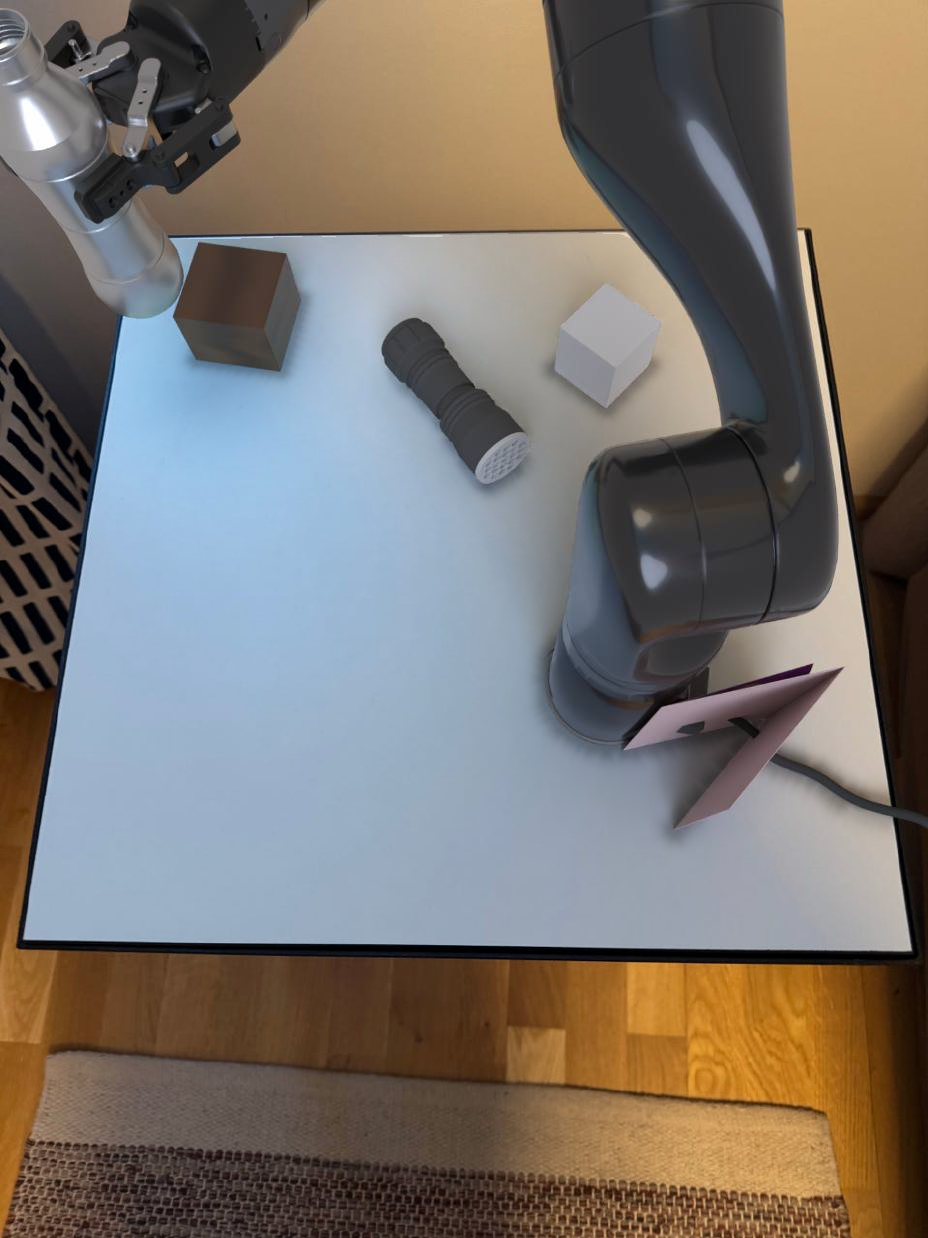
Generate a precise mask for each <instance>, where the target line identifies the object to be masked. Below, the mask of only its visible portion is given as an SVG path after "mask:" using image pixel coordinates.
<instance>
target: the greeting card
mask: <svg viewBox="0 0 928 1238" xmlns="http://www.w3.org/2000/svg"><path fill="white" fill-rule="evenodd" d="M813 666H814V662H812V663H809V664H806V665H801V666H799V667H795V668H792V669H788V670H785V671H781V672H778V673H775V674H771V675H768V676H764V677H761V678H757V679H754V680H751V681H746V682H744V683H740V684H737V685H733V686H730V687H726V688H723V689H719V690H716V691H713V692H709V693H707V694H705V695H702V696H698V697H695V698H692V699H688V700H685V701H681V702H678V703H674V704H673V705H668V706H664V707H661V708H660V709H659V710H658V711H657V713H656V714H655V715H654V716H653V717H652V718H651V719H650V720H649V721H648V723H647V724H646V725H645V726H644V727H643V728H642V729H641V730H640V732H639V733H638V734H637V735H636V736H635V737H634V738H633V739H632V740H631V741H630V742H628V743H627V745H626V746H625V747H624V748H623V749H622V751H627V750H632V749H637V748H640V747H641V748H642V747H646V746H649V745H654V744H658V743H663V742H667V741H671V740H676V739H681V738H685V737H689V736H691V735H689V734H683V733H677V732H676V731H677V730H678V729H680V728H681V727H682V726H684V725H688V724H693V723H697V722H702V721H705V725H704V729H703V730H702V731H701V732H700V733H698V734H702V733H708V732H711V731H716V730H720V729H725V728H729V727H730V728H731V727H733V726H736V725H735V724H733V723H731V722H729V721H727V720H728V719H731V718H736V717H742V718H744V719H745V720H747V721H748V722H750V723H752V722H756V721H761V720H763V721H762V722H761V724H760V725H759V726H758V727H757V729H758V730H759V731H760V733H759V734H758V735H757V737H756V738H754V739H753V738H752V737H751V736H750V737H749V738H748V739H747V741H746V742H745V743H744V744H743V745H742V747H740V748H739V750H738V752H737V753H736V754H735V755H734V756H733V758H732V759H731V760H730V761H729V762H728V764H727V765H726V766H725V767H724V769H723V770H722V771H721V772H720V773H719V774H718V775H717V777H716V778H715V779H714V781H713V782H712V783H711V784H710V785H709V786H708V788H707V789H706V790H705V792H704V793H702V795H700V798H699V799H698V800H697V801H696V802H695V804H693V806H692V807H691V809H689V811H688V812H687V813H686V814H685V815H684V817H683V818H682V819H681V820H680V822H679V823H678V824H677V825H676V826H675V828H674V829H673V830H674V831H676V830H679V829H681V828H685V827H687V826H690V825H692V824H695V823H697V822H700V821H703V820H705V819H709V818H710V817H713V816H716V815H719V814H721V813H723V812H726V811H729V810H731V808H732V807H733V806H734V805H735V804H736V802H737V801H738V800H739V798H741V796H742V795H743V794H744V793H745V791H746V790H747V789H748V788H749V786H750V785H751V784H752V782H753V781H754V780H755V779H756V778H757V776H758V775H759V774H760V773H761V772H762V770H763V769H764V768H765V766H767V764H768V763H769V762H770V759H771V758H772V757H773V755H774V754H775V753H777V752H778V751H779V750H780V748H781V747H782V746H783V745H784V743H785V742H786V741H787V739H789V737H790V736H791V735H792V733H793V732H794V731H795V729H797V727H798V726H799V725H800V724H801V722H802V721H803V720H804V719H805V717H806V716H807V715H808V714H809V712H810V711H811V709H813V707H814V706H815V705H816V704H817V702H818V701H819V700H820V699H821V698H822V697H823V695H824V694H825V693H826V691H827V690H828V689H829V688H830V687H831V686H832V684H833V683H834V682H835V680H836V679H837V678H838V677H839V676H840V674H841V673H842V672H843V670H844V669H845V668H846V665H844V666H839V667H834V668H829V669H826V670H820V671H817V672H812V670H813ZM811 672H812V673H811ZM698 734H697V735H698Z"/></svg>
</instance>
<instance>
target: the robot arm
mask: <svg viewBox="0 0 928 1238" xmlns="http://www.w3.org/2000/svg"><path fill="white" fill-rule="evenodd" d="M326 1H327V0H130V1H129V5H128V12H127V20H126V23H125V26H124V27H123V28H122V29H121V30H119V31H118V32H116V33H114V34H112V35H108V36H107V37H106V36H105V37H104V38H103V39H101V41H100V40H98V39H95V38H93V37H90V36H87V35H86V34H85V31H84V30H83V28H82V25H81V23H80V22H79V21H77V20H76V19H75V20H74V19H70V20H67V21H65V22H64V23H63V24H62V25H60V27H59V28H58V29H57V31H56V32H55V33H54V34H53V35H52V36H51V37H50V38H49V40H48V41H46V43H45V44H44V45H43V46H44V48H45V50H46V52H47V55H48V61H49V62H51V63H53V64H56V65H57V66H59V67H61V68H63V69H65V70H66V71H68V72H69V73H71V74H73V75H74V76H76V77H77V78H78V79H79V80H81V81H82V82H83V83H84V84H85V85H86V86H87V85H89V84H91V92H92V93H93V94H94V95H95V97H96V98H97V100H98V102H99V104H100V106H101V108H102V111H103V113H104V115H105V118H106V121H107V124H108V126H110V125H112V124H114V125H116V126H121V127H124V128H127V131H126V133H125V136H124V139H123V142H122V145H121V148H120V152H121V155H119V154H118V155H117V154H116V153H114V152H113V153H112V154H111V155H110V156H109V157H108V158H107V159H106V160H105V161H104V162H103V163H102V164H101V165H100V166H99V167H98V168H97V169H96V170H95V171H94V172H93V173H92V174H91V175H90V176H89V177H88V178H87V179H86V180H85V181H84V182H83V183H81V184H80V185H79V186H78V187H77V188H76V190H75V192H74V200H75V202H76V203H77V205H78V206H79V208H80V210H81V211H82V213H83V214H84V216H85V217H86V218H87V219H89V220H90V221H92V222H94V223H95V224H100V223H102V222H103V221H104V220H105V219H108V218H110V217H112V216H114V215H115V214H116V213H117V212H118V211H119V210H120V208H122V207H123V206H124V205H125V203H127V202H128V201H129V200H130V199H131V198H132V197H133V196H134V195H135V194H138V192H139V191H140V190H141V189H143V190H148V189H151V188H153V187H154V186H159V187H164V189H165V192H166V193H168V194H169V195H173V196H174V195H178V194H181V193H182V192H184V191H185V190H186V189H187V188H188V187H190V186H191V185H192V184H193V183H194V182H196V181H197V180H198V179H200V177H201V176H203V175H204V174H205V173H207V171H209V170H210V169H212V168H213V167H214V166H215V165H216V164H217V163H219V162H220V161H221V160H222V159H224V157H226V156H227V155H228V154H229V153H231V152H232V151H233V150H235V149H236V148H237V147H238V146H239V145H240V144H241V142H242V138H241V135H240V133H239V130H238V125H237V122H236V119H235V117H234V114H233V112H232V109H231V106H230V104H232V102H234V101H235V99H236V98H237V97H238V96H239V95H240V94H241V93H242V92H243V91H244V90H245V89H246V88H247V87H248V86H249V85H250V84H251V83H252V82H253V81H254V80H255V79H256V78H257V77H259V75H260V74H261V73H262V72H263V71H264V70H265V69H266V68H267V67H268V66H269V65H270V64H271V63H272V62H273V61H274V60H275V59H276V58H277V57H278V56H279V55H280V54H281V53H282V52H283V50H285V48H287V46H288V44H289V43H290V42H291V41H292V39H293V37H294V36H295V35H296V33H297V32H298V31H299V29H300V28H301V26H302V25H303V24H304V23H306V22H307V20H308V19H310V17H311V16H312V15H313V14H315V12H316V11H317V10H318V9H319V8H320V7H322V5H323V4H324V3H326ZM541 4H542V10H543V21H544V27H545V29H544V30H545V36H546V43H547V50H548V52H547V53H548V58H549V67H550V74H551V81H552V89H553V97H554V103H555V111H556V117H557V123H558V125H559V129H560V133H561V136H562V139H563V141H564V144H565V145H566V147H567V150H568V152H569V154H570V156H571V158H572V159H573V161H574V163H575V165H576V166H577V168H578V170H579V171H580V174H581V175H582V176H583V177H584V179H585V180H586V182H587V184H588V185H589V186H590V188H591V189H592V190H593V192H594V193H595V194H596V196H597V197H598V199H599V200H600V201H601V203H602V204H603V206H605V208H606V209H607V210H608V211H609V213H610V214H611V215H612V217H613V218H614V219H615V220H616V221H617V222H618V224H619V225H620V227H622V229H623V230H624V231H625V232H626V234H627V235H628V236H629V237H630V238H631V239H632V241H633V242H634V243H635V244H636V245H637V247H638V248H639V250H641V251H642V253H643V254H644V255H645V256H646V258H647V259H648V260H649V261H650V262H651V264H652V265H653V266H654V267H655V269H656V270H657V271H658V273H659V274H660V275H661V276H662V278H663V280H665V282H666V283H667V285H668V286H669V287H670V288H671V290H672V291H673V293H674V295H675V296H676V298H677V300H678V301H679V303H680V304H681V306H682V307H683V309H684V311H685V312H686V314H687V316H688V318H689V320H690V321H691V324H692V325H693V327H694V330H695V332H696V334H697V337H698V338H699V341H700V344H701V346H702V349H703V352H704V355H705V357H706V360H707V364H708V368H709V371H710V373H711V377H712V382H713V385H714V389H715V395H716V398H717V399H716V400H717V403H718V410H719V416H720V417H719V418H720V425H721V426H719V427H713V428H706V429H701V430H695V431H690V432H683V433H678V434H673V435H667V436H661V437H656V438H647V439H643V440H636V441H631V442H625V443H619V444H615V445H612V446H611V445H610V447H606V448H604V449H603V450H602V451H600V452H599V453H598V454H597V455H595V456H594V458H593V459H592V460H591V461H590V463H589V465H588V467H587V468H586V471H585V474H584V476H583V479H582V482H581V485H580V486H581V487H580V491H579V492H580V493H579V498H578V505H577V506H578V507H577V518H576V529H575V535H574V541H573V546H572V553H571V560H570V570H569V571H570V572H569V590H568V596H567V599H566V603H565V607H564V611H563V615H562V619H561V623H560V627H559V629H558V634H557V638H556V641H555V645H554V647H553V648H552V649H550V651H549V652H548V654H546V656H545V657H544V658H543V662H545V661H546V660H547V659H548V658H549V656H551V658H550V660H549V664H548V666H547V671H546V676H545V693H546V698H547V702H548V704H549V707H550V710H551V711H552V713H553V715H554V716H555V718H556V719H557V721H558V722H559V723H560V724H561V725H562V727H563V728H564V729H566V730H567V731H568V732H569V733H570V734H571V735H574V736H575V737H576V738H578V739H581V740H583V741H585V742H588V743H591V744H595V745H599V746H618V745H625V744H628V743H630V742H631V740H632V739H633V738H634V737H635V736H636V735H637V734H638V733H639V732H640V730H641V729H642V728H643V727H644V726H645V725H646V724H647V723H648V721H649V720H650V719H651V718H652V717H653V716H654V715H655V714H656V713H657V711H658V710H659V709H660V708H661V707H664V706H668V705H673V704H674V703H678V702H681V701H685V700H688V699H692V698H695V697H698V696H702V695H705V694H708V690H709V680H710V679H709V678H710V670H711V669H710V667H709V665H710V664H711V663H712V662H713V661H714V660H715V659H716V658H717V656H718V655H719V653H720V652H721V650H722V649H723V647H724V646H725V644H726V642H727V639H728V637H729V634H730V631H732V630H738V629H743V628H748V627H749V628H750V627H755V626H760V625H763V624H768V623H772V622H779V621H782V620H783V621H784V620H787V619H792V618H797V617H800V616H803V615H805V614H808V613H810V612H813V611H814V610H816V609H817V608H818V607H819V606H820V605H821V604H822V603H823V602H824V600H825V599H826V598H827V596H828V594H829V593H830V590H831V588H832V586H833V581H834V578H835V576H836V575H835V574H836V569H837V564H838V560H839V559H838V557H839V540H840V539H839V538H840V536H839V535H840V528H839V527H840V525H839V506H838V505H839V503H838V496H837V486H836V485H837V484H836V478H835V471H834V464H833V457H832V452H831V451H832V449H831V445H830V437H829V431H828V425H827V420H826V414H825V413H826V412H825V407H824V401H823V396H822V389H821V383H820V379H819V378H820V376H819V371H818V365H817V360H816V359H817V358H816V353H815V348H814V347H815V346H814V342H813V341H814V340H813V335H812V329H811V324H810V322H811V321H810V316H809V309H808V305H807V299H806V292H805V286H804V278H803V269H802V260H801V253H800V243H799V234H798V224H797V222H798V221H797V213H796V201H795V200H796V199H795V189H794V188H795V187H794V173H793V159H792V144H791V132H790V130H791V129H790V117H789V116H790V115H789V99H788V98H789V96H788V95H789V94H788V74H787V73H788V72H787V70H788V69H787V49H786V47H787V45H786V25H785V10H784V0H541ZM186 153H187V157H186V159H185V160H184V161H183V162H181V163H180V164H179V165H178V166H177V164H176V161H177V160H178V159H180V158H181V157H182V156H184V155H185V154H186ZM0 162H1V164H2V165H3V166H4V168H5V170H6V171H7V172H8V173H11V174H12V175H13V176H16V177H18V178H20V177H19V176H18V175H17V174H16V173H15V172H14V171H13V170H12V168H11V167H10V166H9V165H8V164H7V163H6V162H5V160H4V159H3V158H2V157H1V155H0ZM551 654H552V655H551ZM727 721H729V722H731V723H733V724H735V726H736V727H738V728H740V729H741V730H743V732H745V733H746V734H748V735H749V736H750V737H752V738H753V739H754V738H756V737H757V735H758V734H759V733H760V731H759V730H758V727H756V726H755V725H754V724H752V722H748V721H747V720H745V719H744V718H742V717H736V718H731V719H728V720H727ZM704 725H705V721H702V722H697V723H693V724H688V725H684V726H682V727H681V728H680V729H678V730H677V731H676V732H677V733H683V734H689V735H690V736H697V735H698V733H699V734H701V733H700V732H701V731H702V730H703V729H704ZM769 762H772V763H773V764H775V765H777V766H780V767H782V768H783V769H786V770H787V769H788V770H790V771H792V772H795V773H797V774H801V775H803V776H805V777H808V778H810V779H812V780H813V781H815V782H817V783H818V784H820V785H821V786H823V787H825V788H826V789H828V790H829V791H830V792H832V793H833V794H835V795H836V796H837V797H839V798H841V799H843V800H844V801H846V802H848V803H850V804H852V805H854V806H856V807H859V808H860V809H862V810H863V809H864V810H866V811H869V812H872V813H876V814H879V815H884V816H887V817H891V818H895V819H901V820H903V821H908V822H912V823H915V824H918V825H920V826H922V827H923V828H925V829H926V830H928V816H926V815H924V814H921V813H920V812H916V811H913V810H908V809H905V808H901V807H898V806H897V807H896V806H892V805H888V804H884V803H880V802H877V801H873V800H870V799H867V798H865V797H862V796H860V795H858V794H856V793H854V792H852V791H850V790H848V789H847V788H845V787H843V786H842V785H840V784H839V783H837V782H836V781H835V780H833V779H832V778H830V776H827V775H826V774H824V773H823V772H821V771H820V770H817V769H815V768H813V767H811V766H809V765H806V764H805V763H801V762H798V761H796V760H793V759H790V758H788V757H785V756H783V755H781V754H779V753H777V752H776V753H775V754H774V755H773V757H772V758H771V759H770V760H769Z"/></svg>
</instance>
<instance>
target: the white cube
mask: <svg viewBox="0 0 928 1238" xmlns="http://www.w3.org/2000/svg"><path fill="white" fill-rule="evenodd" d="M662 323H663V321H661V320H660V319H658V318H657V317H656V316H655V315H653V314H651V313H650V312H648V311H647V310H646V309H644V307H642V306H641V305H639V304H637V303H636V302H635V301H633V300H631V298H629V297H627V296H626V295H624V294H623V293H622V292H621V291H619V290H618V289H616V288H614V287H613V286H611V285H610V284H609V283H607V282H605V283H604V284H603V285H601V287H600V288H599V289H598V290H596V291H595V292H594V293H593V295H592V296H590V297H589V298H588V299H587V300H586V301H585V302H584V303H582V305H581V306H580V307H579V308H578V309H577V310H576V311H575V312H574V313H573V314H571V316H570V317H568V319H567V320H565V321H564V322H563V324H561V325H560V326H559V329H558V336H557V337H558V339H557V345H556V354H555V361H554V371H555V372H556V373H557V374H558V375H560V376H561V377H563V378H564V379H565V380H567V381H568V382H570V383H571V384H572V385H573V386H575V387H576V388H577V389H579V390H580V391H581V392H582V393H584V394H585V395H586V396H588V397H589V398H590V399H592V400H593V401H595V402H596V403H597V404H598V405H600V406H602V407H603V408H604V409H607V408H609V407H610V405H611V404H613V402H614V401H616V400H617V398H618V397H619V396H621V394H623V392H625V391H626V389H627V388H628V387H630V386H631V384H632V383H633V382H634V381H635V380H636V379H637V378H638V377H639V376H640V375H641V374H642V373H643V372H644V371H646V370H647V368H648V367H649V366H650V363H651V359H652V357H653V353H654V349H655V347H656V343H657V340H658V337H659V333H660V330H661V327H662Z"/></svg>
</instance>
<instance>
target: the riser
mask: <svg viewBox="0 0 928 1238" xmlns="http://www.w3.org/2000/svg"><path fill="white" fill-rule="evenodd" d="M301 301H302V299H301V295H300V291H299V288H298V286H297V283H296V279H295V276H294V273H293V270H292V266H291V264H290V260H289V257H288V255H287V253H286V252H280V251H272V250H266V249H258V248H250V247H241V246H235V245H226V244H220V243H219V244H217V243H212V242H211V243H209V242H203V241H198V242H197V245H196V248H195V251H194V253H193V256H192V260H191V262H190V266H189V268H188V271H187V273H186V277H185V278H184V281H183V285H182V288H181V291H180V294H179V296H178V300H177V302H176V305H175V309H174V311H173V314H172V318H173V320H174V322H175V324H176V326H177V328H178V330H179V331H180V334H181V335H182V337H183V339H184V341H185V342H186V344H187V346H188V348H189V350H190V352H191V354H192V355H193V357H194V359H195V360H196V361H202V362H209V363H216V364H223V365H229V366H238V367H244V368H245V367H246V368H250V369H251V368H253V369H258V370H266V371H273V372H281V370H282V366H283V363H284V360H285V356H286V353H287V349H288V345H289V342H290V339H291V336H292V332H293V328H294V325H295V322H296V318H297V314H298V311H299V308H300V304H301Z"/></svg>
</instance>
